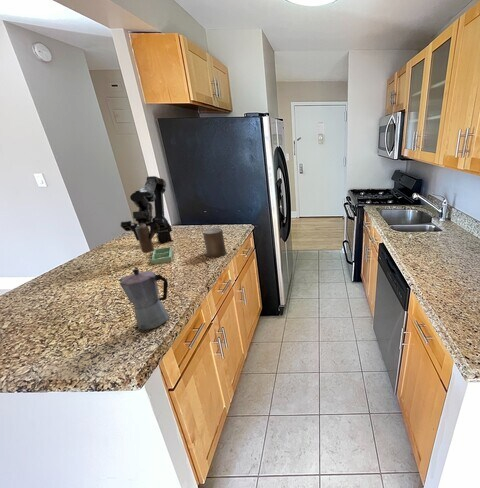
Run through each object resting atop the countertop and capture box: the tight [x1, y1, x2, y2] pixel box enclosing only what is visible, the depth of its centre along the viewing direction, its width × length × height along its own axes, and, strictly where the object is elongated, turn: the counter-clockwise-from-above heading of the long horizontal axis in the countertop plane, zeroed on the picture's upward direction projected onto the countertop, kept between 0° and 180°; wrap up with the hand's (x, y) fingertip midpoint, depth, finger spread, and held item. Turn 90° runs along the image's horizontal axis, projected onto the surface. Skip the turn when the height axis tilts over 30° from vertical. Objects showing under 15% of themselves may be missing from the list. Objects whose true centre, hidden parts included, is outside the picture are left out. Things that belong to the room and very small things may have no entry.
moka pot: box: [117, 268, 169, 331], centre depth 85 cm, size 10×15×20 cm, turn 95°
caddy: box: [150, 246, 173, 265], centre depth 137 cm, size 16×8×3 cm, turn 28°
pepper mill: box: [135, 223, 155, 254], centre depth 129 cm, size 5×5×14 cm
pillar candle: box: [202, 227, 227, 258], centre depth 139 cm, size 10×10×15 cm
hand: (144, 239), depth 128 cm, fingers closed on pepper mill, 5 cm apart
